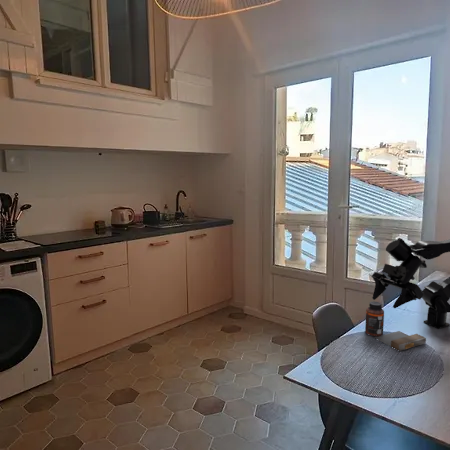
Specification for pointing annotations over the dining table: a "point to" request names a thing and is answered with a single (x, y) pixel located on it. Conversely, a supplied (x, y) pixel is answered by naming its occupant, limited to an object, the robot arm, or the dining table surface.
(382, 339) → the front pad
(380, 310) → the supplement bottle
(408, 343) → the rail
